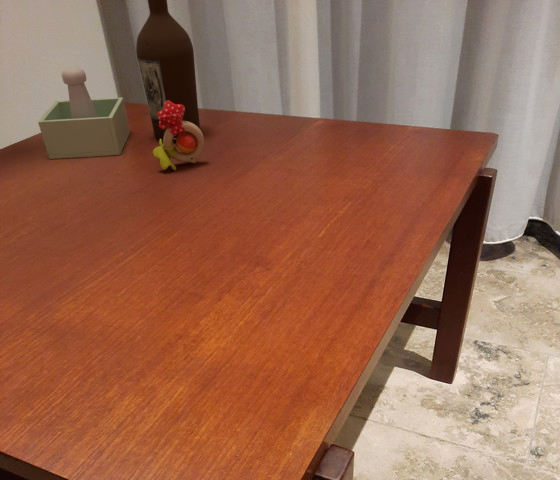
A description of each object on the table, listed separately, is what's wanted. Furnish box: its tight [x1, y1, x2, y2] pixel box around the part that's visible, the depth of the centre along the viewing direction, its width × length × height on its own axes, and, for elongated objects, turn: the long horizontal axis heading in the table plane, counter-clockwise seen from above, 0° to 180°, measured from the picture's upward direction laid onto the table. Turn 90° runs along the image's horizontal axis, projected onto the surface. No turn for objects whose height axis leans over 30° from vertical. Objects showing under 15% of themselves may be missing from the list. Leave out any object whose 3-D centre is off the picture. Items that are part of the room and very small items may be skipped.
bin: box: [37, 96, 131, 160], centre depth 109 cm, size 14×14×7 cm
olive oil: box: [135, 0, 201, 143], centre depth 106 cm, size 11×11×25 cm
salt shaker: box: [61, 66, 98, 119], centre depth 106 cm, size 6×6×13 cm
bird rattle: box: [152, 100, 205, 172], centre depth 98 cm, size 6×11×9 cm
